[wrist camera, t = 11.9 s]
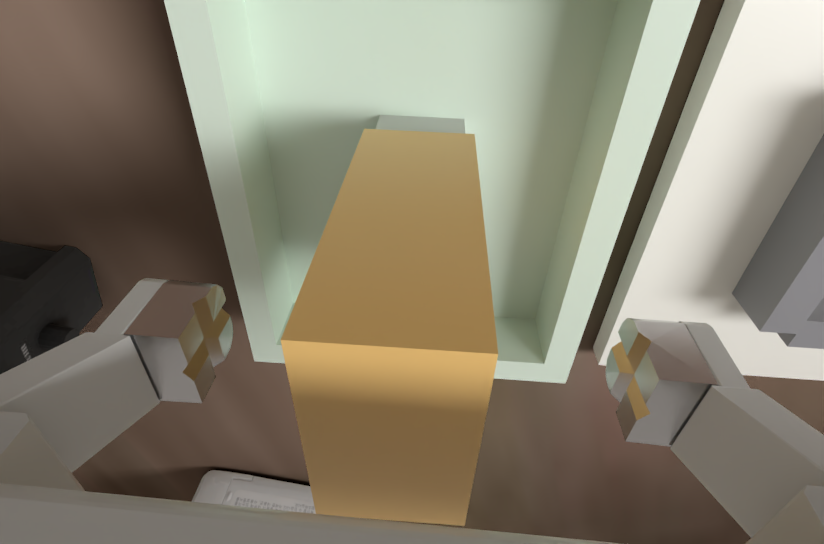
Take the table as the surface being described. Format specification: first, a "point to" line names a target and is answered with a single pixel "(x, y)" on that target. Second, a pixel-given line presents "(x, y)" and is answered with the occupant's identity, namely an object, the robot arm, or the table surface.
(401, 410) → the block
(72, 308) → the geiger counter
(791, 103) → the panel
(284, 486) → the photo printer
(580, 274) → the parts tray
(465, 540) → the robot arm
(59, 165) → the table surface
